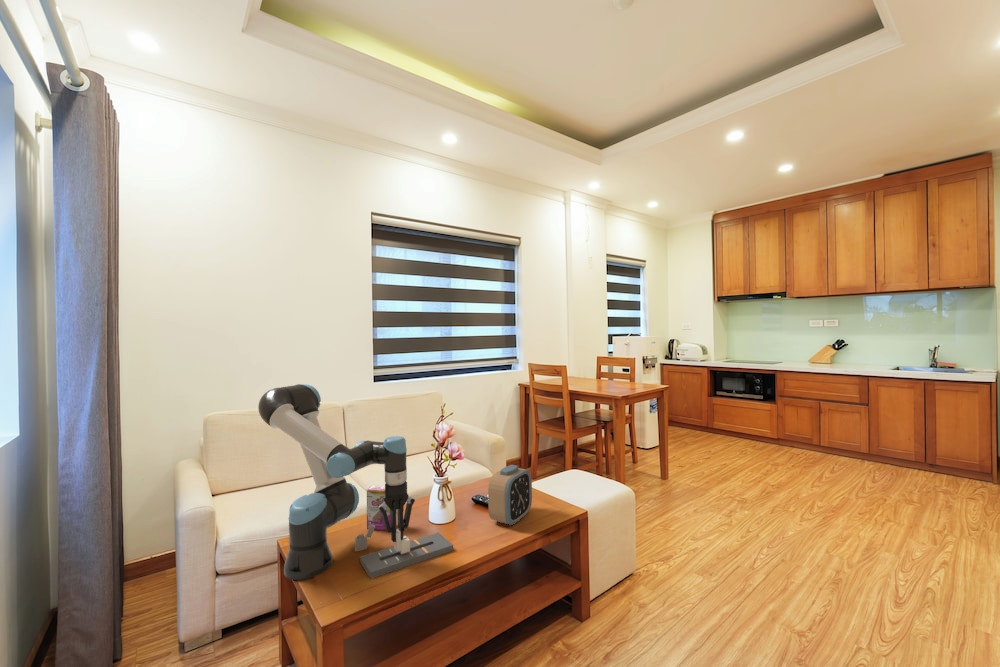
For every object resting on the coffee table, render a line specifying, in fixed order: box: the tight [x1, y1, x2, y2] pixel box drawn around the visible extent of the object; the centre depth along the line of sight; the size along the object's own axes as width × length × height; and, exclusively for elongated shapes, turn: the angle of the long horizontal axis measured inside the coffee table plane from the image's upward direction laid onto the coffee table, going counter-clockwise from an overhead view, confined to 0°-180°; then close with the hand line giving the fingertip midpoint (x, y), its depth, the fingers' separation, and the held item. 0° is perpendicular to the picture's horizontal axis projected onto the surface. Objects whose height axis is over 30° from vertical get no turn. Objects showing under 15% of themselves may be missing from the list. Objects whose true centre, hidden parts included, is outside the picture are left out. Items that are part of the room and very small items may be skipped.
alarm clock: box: [487, 464, 533, 526], centre depth 178 cm, size 21×10×22 cm, turn 148°
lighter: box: [354, 524, 375, 552], centre depth 156 cm, size 7×2×8 cm, turn 117°
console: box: [359, 532, 454, 579], centre depth 149 cm, size 30×12×2 cm, turn 124°
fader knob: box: [399, 535, 411, 555], centre depth 149 cm, size 3×4×6 cm
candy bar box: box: [366, 485, 398, 531], centre depth 172 cm, size 11×5×16 cm, turn 84°
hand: (397, 549), depth 147 cm, fingers closed
